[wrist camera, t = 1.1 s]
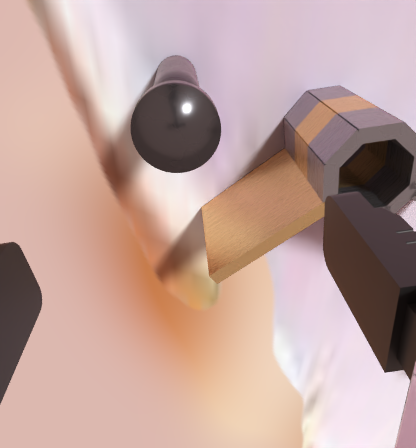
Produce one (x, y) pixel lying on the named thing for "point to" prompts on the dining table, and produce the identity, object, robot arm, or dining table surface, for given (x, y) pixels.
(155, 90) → the hinge pin
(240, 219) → the hinge
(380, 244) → the robot arm
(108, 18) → the dining table surface
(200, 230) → the dining table surface
